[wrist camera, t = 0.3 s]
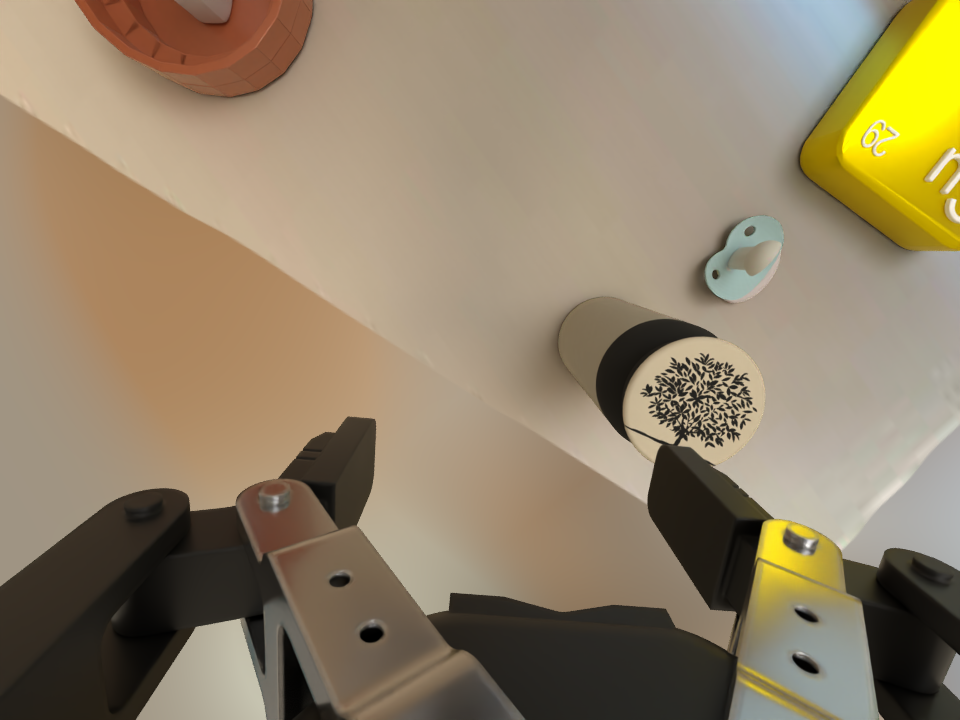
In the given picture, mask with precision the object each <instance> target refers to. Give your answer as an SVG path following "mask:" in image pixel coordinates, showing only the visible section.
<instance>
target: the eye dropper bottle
mask: <svg viewBox="0 0 960 720" xmlns="http://www.w3.org/2000/svg"><path fill="white" fill-rule="evenodd" d="M175 1H176V2H177V3H178V4H179V5H181V6H182V7H183V8H184V9H185V10H187V11H188V12H189V13H190V14H191V15H193V16H194V17H195V18H196V19H198V20H199V21H200V22H203V23H224V22H227V20H228V19H229V16H230V13H231V8H232V0H175Z"/></svg>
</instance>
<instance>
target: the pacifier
mask: <svg viewBox="0 0 960 720" xmlns="http://www.w3.org/2000/svg"><path fill="white" fill-rule="evenodd" d="M749 226H752V227H753V228H754V231H753V233H752V234H751V235H750V236H745V234H744V231H745V229H746V228H747V227H749ZM783 242H784V234H783V229H782V227H781V225H780V223H779V222H778V221H777V220H776V219H774V218H772V217H770V216H763V215H760V216H754V217H750V218H748V219H745V220H743V221H742V222H740V223H739V224H738V225H736V226H735V228H734V229H733V230H732V231H731V233H730V234H729V236H728V238H727V241H726V245H725V248H724V249H723V250H722V251H720V252H718V253H716V254H715V255H713V256H712V257H711V258H710V259H709V261H708V262H707V264H706V267H705V271H704V277H705V281H706V284H707V286H708V288H709V289H710V290H711V291H712V292H713V293H714V294H715V295H716V296H718V297H720V298H722V299H724V300H725V301H727V302H730V303H740V302H744V301H746V300H748V299H750V298H752V297H754V296H755V295H756V294H758V293H759V292H760V291H761V290H762V289H763V288H764V287H765V286H766V285H767V284H768V283H769V281H770V280H771V279H772V277H773V276H774V274H775V272H776V270H777V268H778V265H779V261H780V258H781V249H782V246H783ZM714 270H716V271H717V274H718V278H717V279H713V277H712V272H713V271H714Z"/></svg>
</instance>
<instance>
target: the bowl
mask: <svg viewBox="0 0 960 720" xmlns="http://www.w3.org/2000/svg"><path fill="white" fill-rule="evenodd" d="M75 2H76V3H77V5H78V6H79V7H80V9H81V10H82V12H83V13H84V15H85V16H86V18H87V19H88V21H89V22H90V23H91V25H92V26H93V28H94V29H95V30H97V31H98V32H99V33H100V34H101V35H102V36H103V37H105V38H106V39H107V40H108V41H109V42H110V43H112V44H113V45H114V46H115V47H116V48H117V49H118V50H120V51H121V52H122V53H123V54H124V55H126V56H127V57H129V58H131V59H133V60H135V61H136V62H138V63H140V64H142V65H144V66H145V67H147V68H149V69H151V70H153V71H154V72H156V73H158V74H160V75H162V76H163V77H165V78H167V79H169V80H171V81H173V82H175V83H177V84H179V85H182V86H184V87H186V88H188V89H190V90H192V91H194V92H197V93H200V94H208V95H216V96H225V97H232V96H236V95H241V94H245V93H249V92H253V91H257V90H258V89H259V90H260V89H261V88H263V87H264V86H266V85H267V84H269V83H270V82H272V81H273V80H274V79H276V78H277V77H279V76H280V75H282V74H283V73H284V72H285V71H286V70H287V68H288V67H289V65H290V64H291V63H292V61H293V60H294V58H295V57H296V56H297V54H298V53H299V51H300V50H301V49H302V47H303V44H304V40H305V37H306V34H307V31H308V27H309V24H310V21H311V18H312V2H313V0H232V8H231V13H230V16H229V19H228V20H227V22H224V23H203V22H200V21H199V20H198V19H196V18H195V17H194V16H193V15H191V14H190V13H189V12H188V11H187V10H185V9H184V8H183V7H182V6H181V5H179V4H178V3H177V2H176V1H175V0H75Z"/></svg>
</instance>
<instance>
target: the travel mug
mask: <svg viewBox="0 0 960 720" xmlns="http://www.w3.org/2000/svg"><path fill="white" fill-rule="evenodd" d="M558 347H559V353H560V356H561V359H562V361H563V363H564V365H565V366H566V367H567V369H568V370H569V371H570V373H571V374H572V375H573V376H574V378H575V379H576V380H577V381H578V383H579V384H580V385H581V387H582V388H583V389H584V390H585V392H586V393H587V394H588V395H589V397H590V398H591V399H592V401H593V402H594V403H595V404H596V406H597V407H598V408H599V409H600V411H601V412H602V413H603V415H604V416H605V417H606V418H607V420H608V421H609V422H610V423H611V425H612V426H613V427H614V429H615V430H616V431H617V432H618V433H619V434H620V435H621V436H622V437H624V438H625V439H626V440H628V441H629V442H631V443H632V444H633V445H634V447H635V448H636V449H637V450H638V452H640V453H641V454H642V455H643V456H644V457H645V458H646V459H648V460H649V461H651V462H653V463H654V464H655V460H656V455H657V452H658V449H659V448H660V446H661V445H674V446H685V447H691V448H692V449H693V450H695V451H696V452H697V453H698V454H699V455H700V456H701V457H702V458H703V459H704V460H705V461H706V462H707V463H708V464H710V465H711V466H712V467H713V466H715V465H718V464H720V463H722V462H724V461H726V460H727V459H729V458H731V457H732V456H733V455H735V454H736V453H737V452H738V451H740V450H741V449H742V448H743V447H744V446H745V445H746V444H747V443H748V441H749V440H750V439H751V437H752V436H753V435H754V433H755V431H756V430H757V428H758V426H759V423H760V421H761V418H762V416H763V411H764V406H765V387H764V382H763V378H762V375H761V373H760V371H759V369H758V367H757V365H756V364H755V362H754V361H753V360H752V359H751V357H750V356H749V355H748V354H747V353H746V352H744V351H743V350H742V349H740V348H739V347H738V346H736V345H734V344H732V343H730V342H727V341H725V340H722V339H718V338H717V337H716V336H715V335H713V334H712V333H711V332H709V331H707V330H705V329H703V328H701V327H699V326H696V325H693V324H690V323H687V322H684V321H681V320H678V319H675V318H672V317H669V316H666V315H663V314H661V313H658V312H655V311H652V310H649V309H646V308H643V307H640V306H637V305H634V304H631V303H628V302H625V301H622V300H620V299H616V298H612V297H598V298H594V299H590V300H587V301H585V302H583V303H581V304H580V305H578V306H577V307H576V308H575V309H573V310H572V311H571V312H570V313H569V315H568V316H567V317H566V319H565V320H564V322H563V324H562V327H561V329H560V333H559V339H558Z"/></svg>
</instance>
